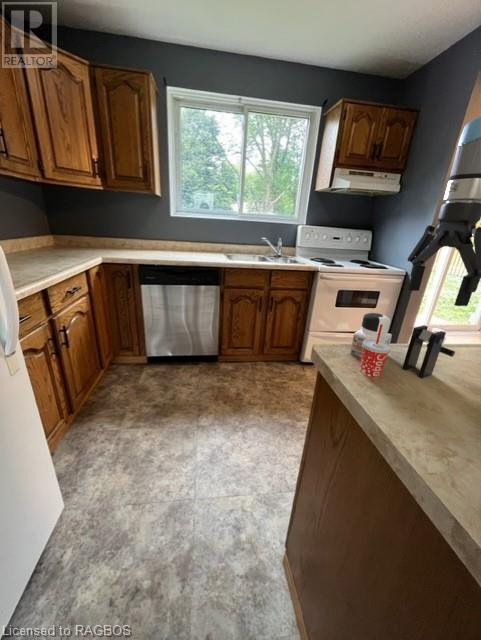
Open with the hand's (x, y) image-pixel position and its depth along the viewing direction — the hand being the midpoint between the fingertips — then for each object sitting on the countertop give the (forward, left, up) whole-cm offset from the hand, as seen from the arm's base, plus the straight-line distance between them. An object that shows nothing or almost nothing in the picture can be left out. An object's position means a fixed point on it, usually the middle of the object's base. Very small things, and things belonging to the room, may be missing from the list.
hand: (434, 297), depth 66 cm
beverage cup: (+16, +1, -20) cm, 25 cm away
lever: (0, +3, -12) cm, 12 cm away
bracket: (+4, +4, -20) cm, 20 cm away
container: (+9, -7, -20) cm, 23 cm away
